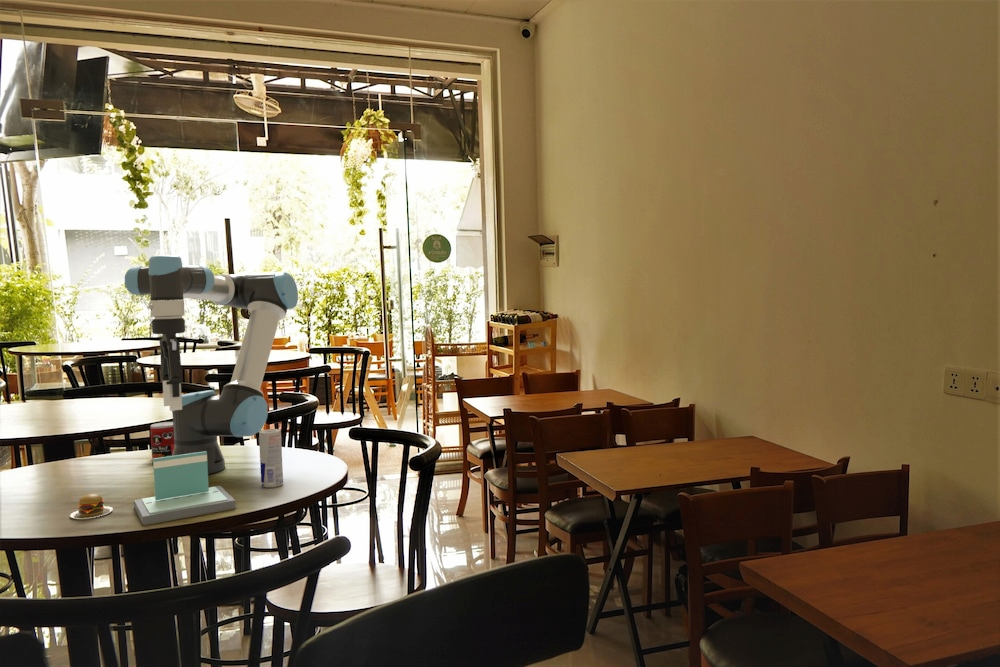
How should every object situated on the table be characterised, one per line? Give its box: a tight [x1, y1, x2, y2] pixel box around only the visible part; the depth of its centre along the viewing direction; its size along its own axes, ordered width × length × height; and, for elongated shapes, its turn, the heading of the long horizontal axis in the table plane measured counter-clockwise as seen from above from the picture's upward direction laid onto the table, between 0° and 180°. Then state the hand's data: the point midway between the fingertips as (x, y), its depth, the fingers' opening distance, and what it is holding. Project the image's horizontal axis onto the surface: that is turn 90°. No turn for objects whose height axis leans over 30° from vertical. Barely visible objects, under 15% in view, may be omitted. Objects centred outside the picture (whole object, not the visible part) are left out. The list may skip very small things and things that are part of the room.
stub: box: [152, 451, 209, 500], centre depth 173 cm, size 1×12×10 cm, turn 124°
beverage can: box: [258, 428, 284, 489], centre depth 189 cm, size 6×6×15 cm
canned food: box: [150, 421, 174, 459], centre depth 225 cm, size 8×8×11 cm
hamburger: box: [69, 493, 114, 520], centre depth 168 cm, size 12×12×6 cm
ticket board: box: [133, 485, 237, 526], centre depth 171 cm, size 16×20×2 cm
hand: (172, 407), depth 178 cm, fingers open, 8 cm apart
